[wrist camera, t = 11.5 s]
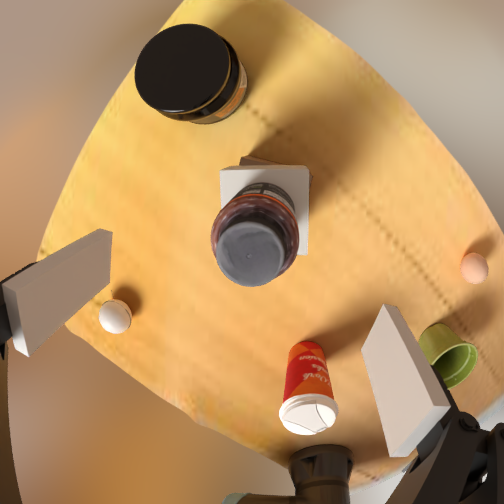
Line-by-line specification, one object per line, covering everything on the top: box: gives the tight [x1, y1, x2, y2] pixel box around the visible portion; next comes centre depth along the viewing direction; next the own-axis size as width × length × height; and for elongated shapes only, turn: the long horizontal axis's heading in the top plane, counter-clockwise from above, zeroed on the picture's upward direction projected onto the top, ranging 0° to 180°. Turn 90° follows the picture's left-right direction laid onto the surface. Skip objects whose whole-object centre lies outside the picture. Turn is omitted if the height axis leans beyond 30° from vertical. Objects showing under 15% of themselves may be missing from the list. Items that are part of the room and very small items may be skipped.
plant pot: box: [419, 323, 478, 390], centre depth 40 cm, size 9×9×9 cm
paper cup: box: [279, 341, 338, 435], centre depth 41 cm, size 8×8×14 cm
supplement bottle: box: [211, 182, 299, 287], centre depth 23 cm, size 6×6×11 cm
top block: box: [220, 165, 309, 255], centre depth 31 cm, size 8×8×6 cm
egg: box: [460, 253, 488, 284], centre depth 36 cm, size 4×4×6 cm
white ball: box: [99, 290, 132, 334], centre depth 45 cm, size 8×6×6 cm
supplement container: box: [135, 24, 248, 124], centre depth 30 cm, size 10×10×12 cm
